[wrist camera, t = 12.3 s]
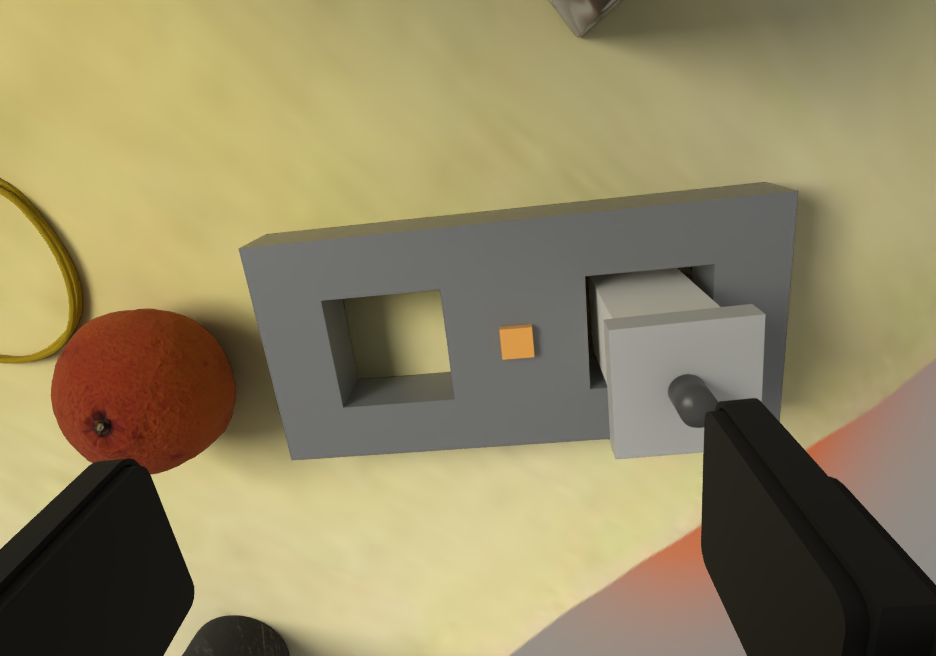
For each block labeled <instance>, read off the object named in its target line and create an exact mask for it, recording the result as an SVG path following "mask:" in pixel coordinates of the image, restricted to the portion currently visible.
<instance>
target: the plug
mask: <svg viewBox="0 0 936 656" xmlns="http://www.w3.org/2000/svg"><path fill="white" fill-rule="evenodd" d="M588 279H589V295H590V310H591V326H592V341H593V350H594V352H595V355H596V358H597V360H598V363H599V365H600V368H601V371H602V373H603V376H604V378H605V381H606V384H607V391H608V409H609V426H610V444H611V447H612V450H613V453H614V456H615V459H626V458H639V457H651V456H663V455H675V454H688V453H700V452H704V420H705V415H706V413H707V412H709V411H715V408H716V405H717V403H718V402H719V401H728V400H739V399H749V398H757V399H759V400H760V401H761V402H762V383H763V360H764V337H765V313H763V312H762V311H761V310H759V309H758V308H757V307H755V306H754V305H753V304H747V305H737V306H728V307H720V306H719V305H718V304H717V303H716V302H714V301H713V300H712V299H711V298H710V297H709V296H708V295H707V294H705V293H704V292H703V291H702V290H701V289H700V288H699V287H698V286H696V285H695V284H694V283H693V282H692V281H691V280H690V279H689V278H687V277H686V276H685V275H684V274H683V273H682V272H681V271H680V270H679V269H677V268H669V269H658V270H647V271H637V272H626V273H615V274H604V275H593V276H588Z"/></svg>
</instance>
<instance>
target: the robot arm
mask: <svg viewBox="0 0 936 656" xmlns="http://www.w3.org/2000/svg"><path fill="white" fill-rule="evenodd" d="M701 548H702V554H703V559H704V563H705V566H706V568H707V570H708V573H709V575H710V577H711V579H712V581H713V583H714V586H715V588H716V590H717V592H718V594H719V596H720V598H721V601H722V603H723V605H724V607H725V609H726V611H727V614H728V615H729V618H730V620H731V622H732V624H733V626H734V628H735V631H736V633H737V635H738V637H739V639H740V641H741V643H742V646H743V648H744V650H745V652H746V654H747V656H936V585H935V584H934V583H933V581H932V580H930V578H929V577H928V576H927V575H926V574H925V573H924V572H923V571H922V570H921V568H920V567H919V566H918V565H917V564H916V563H915V562H914V561H913V560H912V559H911V558H910V557H909V555H908V554H907V553H906V552H905V551H904V550H903V549H902V548H901V547H900V545H899V544H898V543H897V542H896V541H895V540H894V539H893V538H892V537H891V536H890V535H889V533H888V532H887V531H886V530H885V529H884V528H883V527H882V526H881V525H880V524H879V523H878V521H877V520H876V519H875V518H874V517H873V516H872V515H871V514H870V513H869V512H868V511H867V509H866V508H865V507H864V506H863V505H862V504H861V503H860V502H859V501H858V500H857V499H856V498H855V496H854V495H853V494H852V493H851V492H850V491H849V490H848V489H847V488H846V487H845V486H844V485H843V484H842V483H841V482H840V481H838V480H837V479H835V478H832V477H828V476H827V474H826V473H825V472H824V471H823V470H822V469H821V468H820V467H819V466H818V464H817V463H816V462H815V461H814V460H813V459H812V458H811V457H810V455H809V454H808V453H807V452H806V451H805V450H804V449H803V448H802V446H801V445H800V444H799V443H798V442H797V441H796V440H795V439H794V438H793V436H792V435H791V434H790V433H789V432H788V431H787V430H786V429H785V428H784V426H783V425H782V424H781V423H780V422H779V421H778V420H777V419H776V417H775V416H774V415H773V414H772V413H771V412H770V411H769V410H768V409H767V407H766V406H765V405H764V404H763V403H762V402H761V401H760V400H759V399H757V398H749V399H739V400H728V401H719V402H718V403H717V405H716V408H715V411H709V412H707V413H706V415H705V420H704V454H703V492H702V531H701ZM193 600H194V585H193V581H192V579H191V576H190V574H189V571H188V569H187V566H186V564H185V561H184V559H183V556H182V554H181V551H180V549H179V546H178V544H177V541H176V538H175V536H174V533H173V531H172V528H171V526H170V523H169V521H168V518H167V516H166V513H165V511H164V508H163V506H162V503H161V501H160V498H159V495H158V493H157V490H156V488H155V485H154V483H153V480H152V478H151V475H150V473H149V471H148V469H147V468H145V467H144V466H140V465H139V463H138V462H137V461H136V460H134V459H131V458H126V459H115V460H105V461H97V462H94V463H93V464H91V465H90V466H88V467H87V468H86V469H85V470H84V471H83V472H82V473H81V474H80V475H79V476H78V477H77V478H76V479H75V480H74V481H72V482H71V483H70V484H69V485H68V486H67V487H66V488H65V489H64V490H63V491H62V492H61V493H60V494H59V495H58V496H56V497H55V498H54V499H53V500H52V501H51V502H50V503H49V504H48V505H47V506H46V507H45V508H44V509H43V510H42V511H41V512H39V513H38V514H37V515H36V516H35V517H34V518H33V519H32V520H31V521H30V522H29V523H28V524H27V525H26V526H25V527H24V528H22V529H21V530H20V531H19V532H18V533H17V534H16V535H15V536H14V537H13V538H12V539H11V540H10V541H9V542H8V543H6V544H5V545H4V546H3V547H2V548H1V549H0V656H163V655H164V654H165V652H166V650H167V648H168V647H169V645H170V643H171V641H172V640H173V638H174V636H175V634H176V633H177V631H178V629H179V627H180V626H181V624H182V622H183V620H184V619H185V617H186V615H187V614H188V612H189V610H190V608H191V606H192V603H193Z"/></svg>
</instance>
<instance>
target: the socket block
mask: <svg viewBox="0 0 936 656" xmlns="http://www.w3.org/2000/svg"><path fill="white" fill-rule="evenodd" d="M797 197H798V191H795V190H792V189H788V188H784V187H781V186H777V185H773V184H769V183H766V182H762V183H753V184H743V185H733V186H724V187H714V188H705V189H695V190H686V191H676V192H666V193H657V194H647V195H638V196H628V197H619V198H609V199H599V200H590V201H580V202H571V203H561V204H551V205H542V206H532V207H523V208H513V209H504V210H494V211H484V212H475V213H465V214H456V215H446V216H437V217H427V218H417V219H408V220H398V221H389V222H379V223H370V224H360V225H350V226H341V227H331V228H322V229H312V230H303V231H293V232H283V233H274V234H266V235H264V236H262V237H260V238H258V239H256V240H254V241H252V242H250V243H248V244H246V245H245V246H243V247H241V248H239V252H240V256H241V260H242V264H243V268H244V272H245V276H246V280H247V284H248V288H249V292H250V296H251V300H252V304H253V308H254V312H255V316H256V320H257V324H258V328H259V332H260V336H261V340H262V344H263V348H264V352H265V355H266V359H267V363H268V367H269V371H270V375H271V379H272V383H273V387H274V391H275V395H276V399H277V403H278V407H279V411H280V415H281V419H282V423H283V427H284V431H285V435H286V439H287V443H288V447H289V451H290V455H291V459H292V460H304V459H319V458H333V457H348V456H363V455H378V454H393V453H407V452H422V451H437V450H452V449H467V448H481V447H496V446H511V445H526V444H541V443H555V442H570V441H585V440H600V439H610V426H609V409H608V391H607V384H606V381H605V378H604V376H603V373H602V371H601V368H600V365H599V363H598V360H596V361H589V354H588V332H587V310H586V287H585V276H593V275H604V274H615V273H626V272H637V271H647V270H658V269H669V268H680V267H690V266H691V281H692V282H693V283H694V284H695V285H696V286H698V287H699V288H700V289H701V290H702V291H703V292H704V293H705V294H707V295H708V296H709V297H710V298H711V299H712V300H713V301H714V302H716V303H717V304H718V305H719V306H720V307H728V306H737V305H747V304H753V305H754V306H755V307H757V308H758V309H759V310H761V311H762V312H763V313H765V337H764V360H763V383H762V403H763V404H764V405H765V406H766V407H767V409H768V410H769V411H770V412H771V413H772V414H773V415H774V416H775V417H776V419H777V420H778V421H780V408H781V396H782V384H783V371H784V359H785V346H786V334H787V322H788V309H789V297H790V284H791V272H792V259H793V247H794V235H795V222H796V210H797ZM432 290H440V293H441V301H442V308H443V316H444V323H445V331H446V338H447V345H448V353H449V360H450V368H451V372H445V373H433V374H420V375H408V376H395V377H383V378H370V379H358V375H357V370H356V365H355V360H354V354H353V349H352V344H351V339H350V334H349V329H348V324H347V319H346V313H345V308H344V303H343V299H346V298H356V297H367V296H378V295H389V294H400V293H410V292H421V291H432Z"/></svg>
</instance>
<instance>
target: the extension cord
mask: <svg viewBox="0 0 936 656" xmlns="http://www.w3.org/2000/svg"><path fill="white" fill-rule="evenodd" d="M0 186H2V187H4V188H5V189H7V190H8V191H7V190H5V189H3V188H2V187H0V194H1V195H3V196H5V197H6V198H7V199H9V200H10V201H11V202H13V203H14V204H15V205H16V206H17V207H18V208H19V209H20V210H21V211H22V212H23V213H24V214H25V215H26V217H27V218H28V219H29V220H30V221H31V222H32V223H33V225H34V226H35V227H36V228H37V230H38V231H39V233H40V234H41V235H42V237H43V238H44V240H45V241H46V242H47V244H48V246H49V248H50V249H51V251H52V253H53V254H54V256H55V258H56V260H57V263H58V265H59V267H60V269H61V271H62V274H63V277H64V280H65V283H66V287H67V292H68V297H69V321H68V325H67V329H66V331H65V332H64V333H63V334H62V335H61V336H60V337H59V338H58V339H57V340H56V341H55V342H54V343H53V344H51V345H50V346H49V347H47V348H46V349H44V350H42V351H40V352H38V353H35V354H32V355H28V356H7V355H0V363H24V362H32V361H36V360H40V359H43V358H46V357H48V356H50V355H52V354H54V353H56V352H58V351H59V350H60V349H61V348H62V347H64V345H65V344H66V342H67V341H68V340H69V338H70V336H71V334H72V333H73V331H74V330H75V328H76V327H77V325H78V323H79V320H80V317H81V313H82V305H83V298H82V290H81V285H80V281H79V278H78V275H77V272H76V269H75V267H74V265H73V263H72V261H71V259H70V257H69V255H68V253H67V251H66V250H65V248H64V246H63V244H62V243H61V241H60V240H59V238H58V237H57V235H56V234H55V232H54V231H53V230H52V228H51V227H50V226H49V224H48V223H47V222H46V220H45V219H44V218H43V217H42V215H41V214H40V213H39V212H38V211H37V209H36V208H35V207H34V206H33V205H32V203H31V202H30V201H29V200H28V199H27V198H26V197H25V196H24V195H23V194H22V193H21V192H20V191H19V190H18V189H16V188H15V187H13V186H12V185H10V184H9V183H7V182H5V181H4V180H2V179H0ZM9 191H10V192H11V193H10V192H9ZM13 194H14V195H15V196H14V195H13ZM70 275H71V276H70ZM73 285H74V286H73Z"/></svg>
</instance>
